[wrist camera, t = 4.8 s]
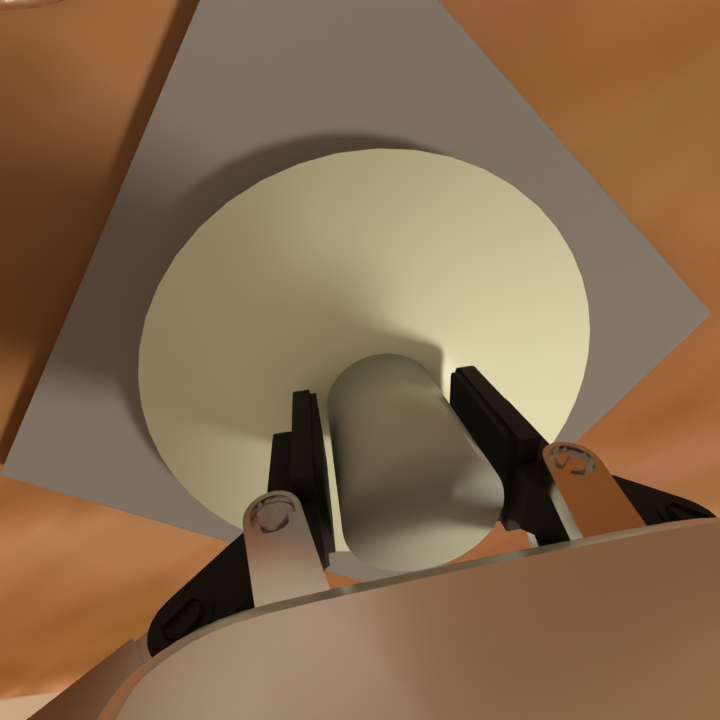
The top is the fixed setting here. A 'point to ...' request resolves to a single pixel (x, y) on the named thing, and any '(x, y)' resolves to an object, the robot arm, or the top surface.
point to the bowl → (24, 3)
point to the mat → (284, 150)
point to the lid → (364, 343)
